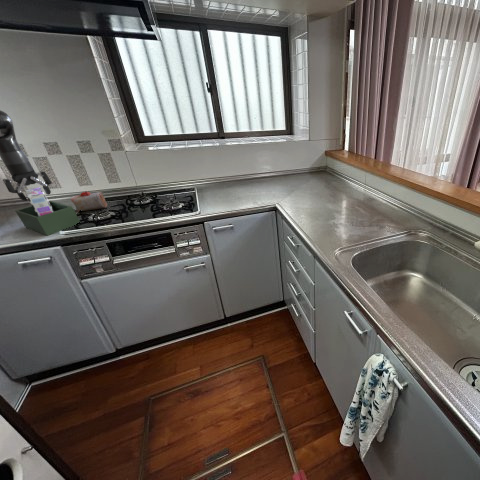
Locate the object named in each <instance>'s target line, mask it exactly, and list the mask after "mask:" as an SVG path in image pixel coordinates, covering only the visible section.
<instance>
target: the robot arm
mask: <svg viewBox="0 0 480 480" xmlns="http://www.w3.org/2000/svg"><path fill="white" fill-rule="evenodd" d="M14 127H15V126H14V122H13V120H12V118H11V117H10V116H9V115H8V114H7V113H6V112H5V111H3V110H1V109H0V159H1V161H2V163H3V164H4V166H5V167H6V169H7V171H8V172H9V174H10V176H11V178H3V179H2V182H3V183H4V185H5V188H6V190H7V191H8V192H9V193H11V194H17V196H18V198H19V199H20V200H21V201H23V202H27V201H28V198H27V196H26V194H25V193H24V192H23V191H24V190H23V189H24V188H25V186H26V187H29V186H30V185H35V184H38V185H40V186H42V190H43V192H44V193H45V195H48V196H49V195H51V193H52V191H51V189H50V187H49V186H50V185H52V183H53V182H52V181H51V179H50V177H49V176H48V174H47V173H46V172H45V171H43V170H40V171H38V172H36V170H35V169H34V167H33V165H32V164H31V162H30V160H29V158H28V157H27V155H26V154H25V152H24V151H23V149H22V148H21V145H20V144H19V142H18V140H17V136H16V132H15V128H14ZM39 177H42V179H43V181H42V180H40V179H38V178H39ZM13 182H15V183H16V184H15V188H14V186H13V184H14V183H13Z"/></svg>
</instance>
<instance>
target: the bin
mask: <svg viewBox="0 0 480 480" xmlns="http://www.w3.org/2000/svg"><path fill="white" fill-rule="evenodd" d="M48 201H49V203H50V205H51V207H52V209H53V211H54V212H52V213H49V214H46V215H42V216H39V217H38V215H37V213H36V212H35V210H34V209H33V207H32V205H30V206H26V207H24V208H19V209H16V210H15V211H14V212H15V214H16V215H17V216H18V218H19V219H20V221H21V222H22V224H23V226H24V227H25V228H26V229H27V230H31V231H33V232H36V233H39V234H42V235H44V236H47V237H48V236H52V235H54V234H56V233H58V232H61V230H62V231H64V230H67V229H69V227H70V228H72V226H73V227H75V226H77V225H76V224H77V223H79V222H80V223H81V220H80V219H79V217H78V215H77V213H76V212H75V209H74V208H73V206H72V205H67V204H65V203H60V202H57V201H53V200H48ZM74 225H75V226H74ZM66 228H67V229H66ZM63 229H64V230H63Z"/></svg>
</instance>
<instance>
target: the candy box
mask: <svg viewBox="0 0 480 480" xmlns="http://www.w3.org/2000/svg"><path fill="white" fill-rule="evenodd" d="M23 191H24V194H25V197H26V199H27V201H28V202H29V204H30V206H32V207H33V209H34V210H35V212H36V213H37V215H38V217H39V216H42V215H46V214H49V213H52V212H54V211H53V209H52V207H51V205H50V203H49V201H50V200H49V199H48V197H47V196H46V193H45V191H44V190H43V188H42V187H35V188H29V189H24V190H23Z"/></svg>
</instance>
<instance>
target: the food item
mask: <svg viewBox="0 0 480 480" xmlns="http://www.w3.org/2000/svg"><path fill="white" fill-rule="evenodd" d="M70 201H71V202H72V204H73V205H74V207H75V209H76V211H77V212H78V213H80V212H79V211H80V210H82V211H84V212H89V211H94V210H95V211H96V210H102V209H106V208H107V207H108V203H107V201H106V199H105V197H104V194H103V192H102V191H97V192H90V191H88V190H85V191H83V192H81V193H80V194H78V195H73V196H71V198H70Z"/></svg>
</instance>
